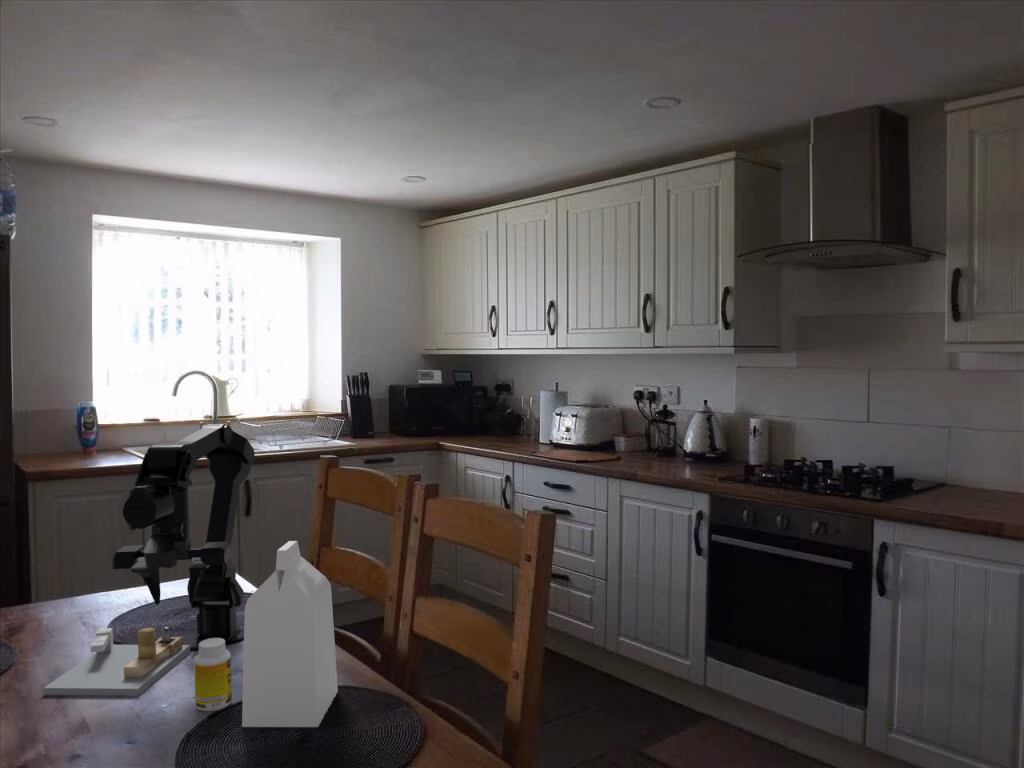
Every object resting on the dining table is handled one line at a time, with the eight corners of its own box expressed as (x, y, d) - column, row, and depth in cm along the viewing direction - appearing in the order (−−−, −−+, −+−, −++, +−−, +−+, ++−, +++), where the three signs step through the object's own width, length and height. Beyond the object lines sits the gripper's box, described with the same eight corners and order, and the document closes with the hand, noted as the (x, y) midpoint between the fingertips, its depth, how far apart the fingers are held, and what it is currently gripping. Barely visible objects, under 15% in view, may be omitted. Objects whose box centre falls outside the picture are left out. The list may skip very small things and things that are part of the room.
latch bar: (161, 646, 149) (160, 613, 149) (182, 646, 149) (181, 613, 149) (121, 677, 135) (119, 641, 135) (144, 677, 135) (142, 641, 135)
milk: (268, 692, 132) (264, 536, 131) (337, 692, 132) (333, 536, 130) (241, 726, 120) (236, 556, 119) (317, 727, 120) (313, 555, 118)
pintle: (173, 649, 148) (172, 626, 148) (169, 652, 146) (168, 629, 146) (164, 649, 148) (163, 626, 148) (160, 652, 146) (159, 629, 146)
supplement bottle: (234, 708, 126) (232, 644, 126) (196, 716, 124) (194, 651, 123) (230, 694, 131) (228, 633, 131) (193, 701, 129) (191, 639, 128)
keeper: (113, 647, 149) (112, 627, 149) (105, 664, 141) (104, 643, 141) (99, 649, 149) (98, 629, 148) (90, 666, 141) (89, 644, 141)
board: (190, 651, 150) (190, 645, 150) (138, 695, 131) (137, 688, 131) (107, 650, 151) (107, 644, 151) (43, 695, 132) (43, 688, 132)
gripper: (97, 528, 131) (101, 621, 132) (215, 523, 133) (218, 615, 134) (121, 514, 142) (125, 600, 143) (230, 509, 144) (233, 594, 145)
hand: (174, 603), depth 141 cm, fingers open, 5 cm apart
